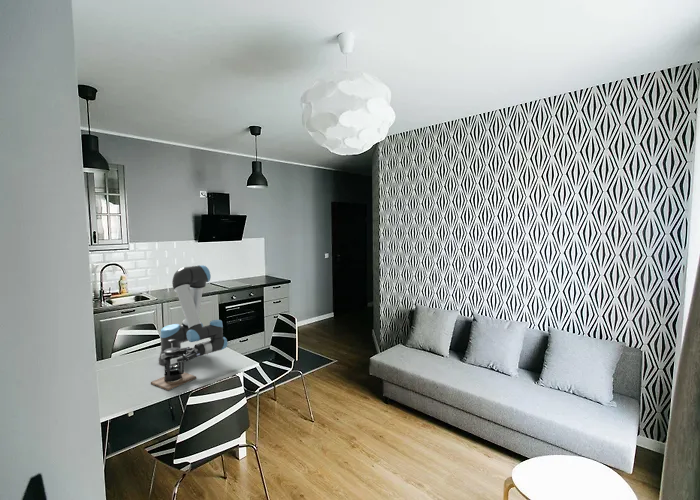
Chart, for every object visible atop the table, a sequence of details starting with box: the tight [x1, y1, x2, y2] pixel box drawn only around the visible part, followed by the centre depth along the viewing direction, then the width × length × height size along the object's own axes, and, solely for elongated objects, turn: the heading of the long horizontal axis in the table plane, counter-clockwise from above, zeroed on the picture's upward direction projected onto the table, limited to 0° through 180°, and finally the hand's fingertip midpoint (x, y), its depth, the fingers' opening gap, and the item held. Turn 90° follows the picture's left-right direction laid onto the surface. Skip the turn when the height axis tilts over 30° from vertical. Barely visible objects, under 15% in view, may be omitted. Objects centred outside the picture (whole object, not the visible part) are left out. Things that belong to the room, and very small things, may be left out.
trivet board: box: [150, 370, 197, 391], centre depth 210 cm, size 16×18×1 cm
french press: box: [163, 339, 185, 382], centre depth 210 cm, size 12×9×23 cm
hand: (166, 359), depth 206 cm, fingers open, 11 cm apart
